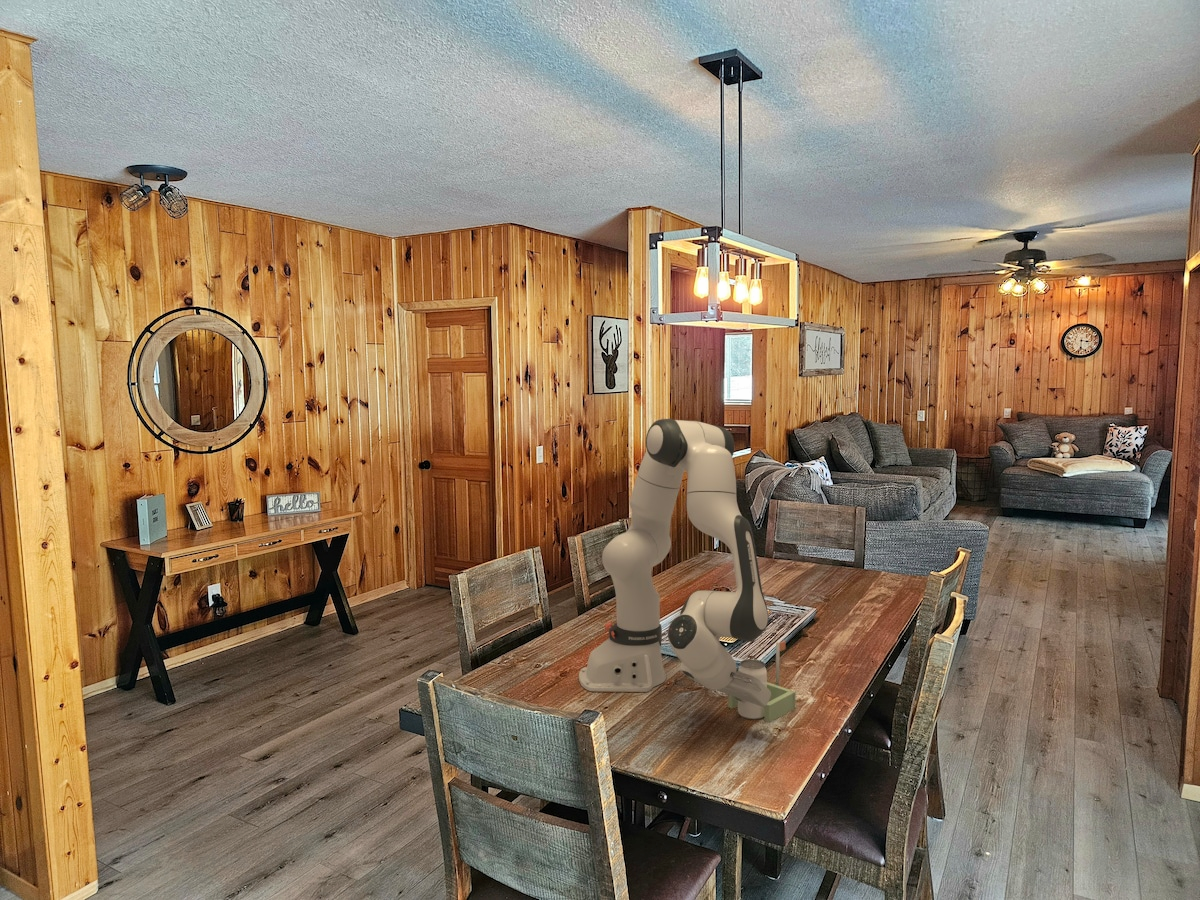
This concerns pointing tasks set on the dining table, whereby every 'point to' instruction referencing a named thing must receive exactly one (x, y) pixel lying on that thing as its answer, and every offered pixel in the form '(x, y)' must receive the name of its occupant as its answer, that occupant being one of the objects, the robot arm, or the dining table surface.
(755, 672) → the can
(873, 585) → the dining table surface
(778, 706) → the olive frame
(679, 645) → the robot arm
